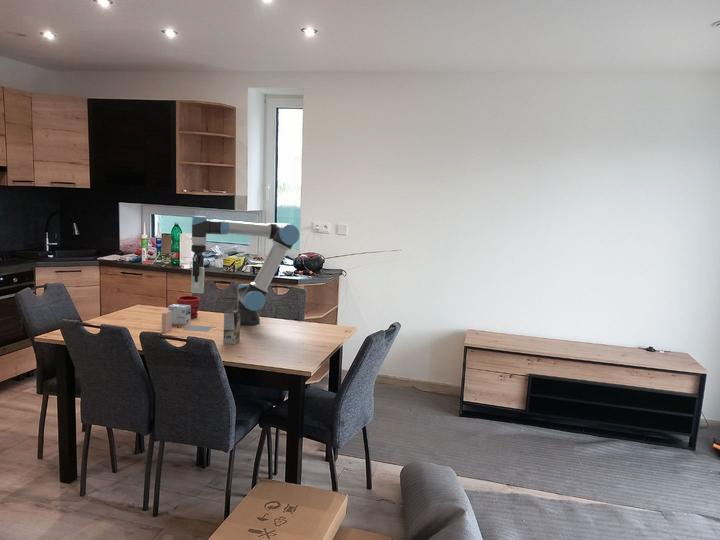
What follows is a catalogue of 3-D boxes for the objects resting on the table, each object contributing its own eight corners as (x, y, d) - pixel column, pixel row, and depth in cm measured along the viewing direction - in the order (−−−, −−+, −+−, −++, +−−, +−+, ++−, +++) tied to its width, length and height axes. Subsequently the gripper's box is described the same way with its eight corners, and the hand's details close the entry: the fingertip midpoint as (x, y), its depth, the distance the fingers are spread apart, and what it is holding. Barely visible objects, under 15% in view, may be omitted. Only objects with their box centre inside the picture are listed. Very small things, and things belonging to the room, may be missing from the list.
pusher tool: (203, 292, 301) (204, 267, 300) (202, 293, 298) (202, 267, 296) (193, 291, 301) (193, 266, 300) (191, 292, 298) (191, 267, 296)
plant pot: (172, 317, 329) (172, 297, 327) (186, 313, 341) (187, 294, 339) (189, 320, 324) (190, 300, 323) (204, 316, 336) (204, 297, 335)
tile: (171, 330, 298) (171, 310, 297) (165, 334, 289) (165, 313, 288) (167, 329, 298) (167, 310, 297) (161, 333, 289) (161, 313, 288)
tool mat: (213, 327, 309) (213, 326, 308) (207, 332, 297) (207, 331, 297) (188, 326, 309) (188, 325, 309) (181, 331, 297) (181, 330, 297)
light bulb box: (190, 323, 316) (191, 304, 315) (185, 325, 310) (186, 307, 308) (173, 321, 317) (173, 303, 316) (167, 324, 311) (168, 305, 309)
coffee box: (235, 344, 276) (236, 313, 274) (222, 343, 276) (223, 312, 274) (240, 340, 285) (240, 309, 283) (227, 339, 285) (228, 309, 283)
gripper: (196, 243, 305) (195, 284, 308) (186, 245, 288) (185, 289, 291) (210, 243, 305) (208, 285, 307) (201, 246, 288) (199, 290, 291)
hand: (197, 287), depth 299 cm, fingers closed on pusher tool, 3 cm apart
